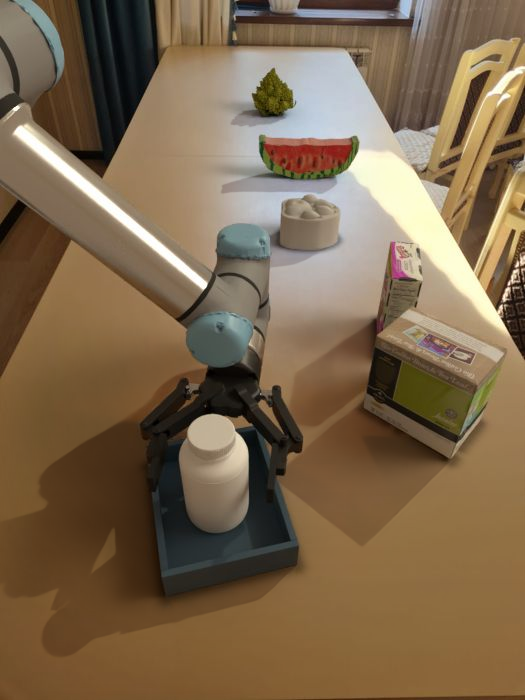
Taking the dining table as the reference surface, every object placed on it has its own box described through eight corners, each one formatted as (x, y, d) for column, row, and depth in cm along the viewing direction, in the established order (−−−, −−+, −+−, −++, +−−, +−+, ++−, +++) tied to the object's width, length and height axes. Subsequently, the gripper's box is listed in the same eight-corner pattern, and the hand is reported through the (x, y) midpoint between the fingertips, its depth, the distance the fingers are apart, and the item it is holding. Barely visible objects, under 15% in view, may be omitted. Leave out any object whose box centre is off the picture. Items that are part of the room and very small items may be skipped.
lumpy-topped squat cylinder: (280, 225, 126) (282, 190, 121) (336, 228, 126) (340, 193, 120) (279, 248, 119) (280, 212, 113) (338, 251, 118) (342, 215, 112)
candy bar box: (374, 317, 101) (389, 239, 90) (402, 320, 100) (420, 242, 89) (374, 357, 92) (391, 276, 81) (404, 361, 92) (425, 280, 81)
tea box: (480, 421, 82) (511, 348, 72) (449, 462, 76) (478, 387, 66) (394, 375, 89) (412, 302, 79) (360, 408, 83) (374, 334, 74)
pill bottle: (177, 528, 67) (164, 451, 57) (198, 475, 72) (189, 398, 63) (239, 542, 65) (236, 467, 55) (255, 487, 71) (256, 410, 61)
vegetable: (272, 89, 194) (281, 56, 180) (296, 122, 192) (306, 92, 178) (237, 103, 190) (244, 71, 176) (261, 138, 188) (270, 108, 173)
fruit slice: (258, 179, 146) (259, 142, 139) (258, 169, 150) (258, 133, 144) (355, 180, 146) (360, 142, 140) (352, 170, 151) (356, 134, 144)
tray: (150, 465, 75) (145, 445, 72) (259, 444, 78) (259, 424, 75) (165, 596, 61) (161, 577, 58) (297, 564, 64) (299, 545, 61)
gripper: (321, 389, 78) (318, 519, 63) (152, 375, 80) (107, 499, 64) (326, 350, 73) (323, 481, 58) (146, 336, 75) (95, 460, 59)
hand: (210, 491), depth 61 cm, fingers open, 13 cm apart
